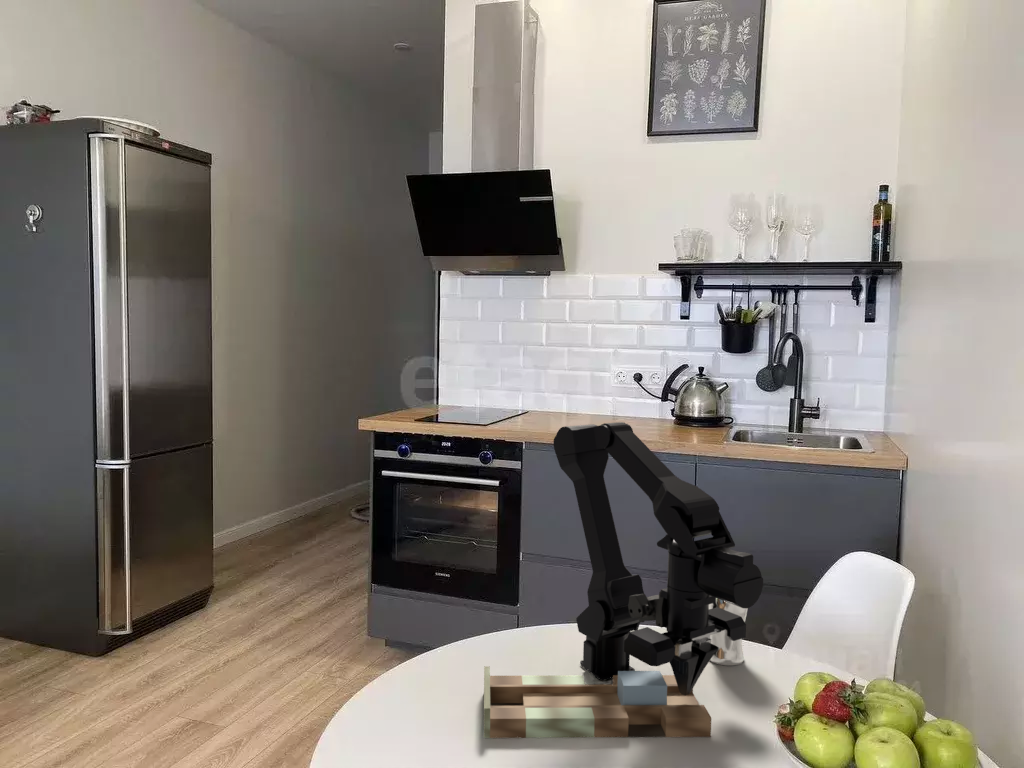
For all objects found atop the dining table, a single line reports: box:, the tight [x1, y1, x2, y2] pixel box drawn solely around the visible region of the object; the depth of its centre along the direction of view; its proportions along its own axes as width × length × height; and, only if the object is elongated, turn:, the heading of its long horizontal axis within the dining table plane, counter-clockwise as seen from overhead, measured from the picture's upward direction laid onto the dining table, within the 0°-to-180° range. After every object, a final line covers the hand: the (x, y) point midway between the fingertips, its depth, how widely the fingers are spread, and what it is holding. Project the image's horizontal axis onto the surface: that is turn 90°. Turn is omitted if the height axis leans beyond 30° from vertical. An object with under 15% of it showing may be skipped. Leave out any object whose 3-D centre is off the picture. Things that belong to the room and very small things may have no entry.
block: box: [617, 670, 667, 705], centre depth 107 cm, size 6×4×4 cm
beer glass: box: [709, 598, 748, 667], centre depth 125 cm, size 7×7×15 cm
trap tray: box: [483, 665, 712, 739], centre depth 107 cm, size 30×12×4 cm, turn 92°
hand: (684, 694), depth 107 cm, fingers closed
